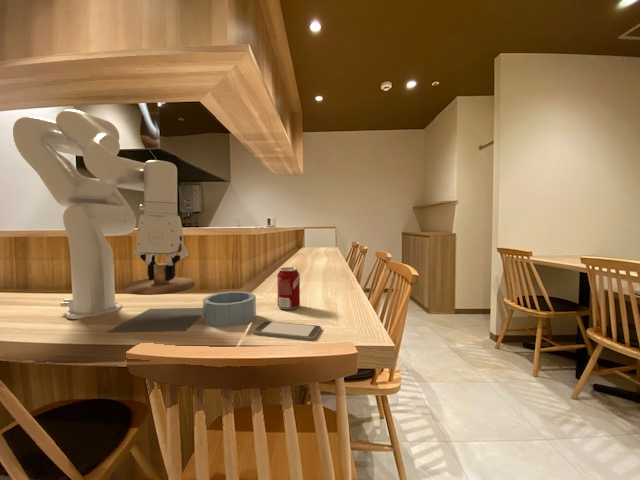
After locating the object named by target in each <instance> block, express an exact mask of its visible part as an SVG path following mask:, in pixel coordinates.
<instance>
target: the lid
mask: <svg viewBox="0 0 640 480" xmlns="http://www.w3.org/2000/svg"><path fill="white" fill-rule="evenodd" d="M167 265H168V263H156V264H154V280H149V278H145V279H139V280H135V281H131V282H128V283H126V284H125V285H124V292H125V293H127V294H129V295H130V294H131V295H136V296H156V295H168V294H169V295H170V294H175V293H180V292H184V291H187V290H190V289H192V288H194V287H195V285H196V282H195V279H193V278H189V277H183V276H181V277H180V276H174V279H172V280H170V281H166V280H165V267H166V266H167Z"/></svg>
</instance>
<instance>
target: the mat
mask: <svg viewBox="0 0 640 480" xmlns="http://www.w3.org/2000/svg"><path fill="white" fill-rule="evenodd" d="M201 318H203V307H173V308H171V307H170V308H164V307H163V308H162V307H161V308H160V307H158V308H149V309H147V310H145V311H143V312H141V313H139V314H137V315H135V316H134V317H132V318H130V319H128V320H126V321H125V322H123V323H120V324H119V325H117V326H115V327H113V328H111V329H110V330H108V331H106V332H105V333H107V334H108V333H109V334H110V333H152V332H154V333H157V332H160V333H161V332H187V330H188V329H190V328H191V327H192V326H193V325H194V324H195V323H196V322H198V321H199V320H200V319H201Z"/></svg>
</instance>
